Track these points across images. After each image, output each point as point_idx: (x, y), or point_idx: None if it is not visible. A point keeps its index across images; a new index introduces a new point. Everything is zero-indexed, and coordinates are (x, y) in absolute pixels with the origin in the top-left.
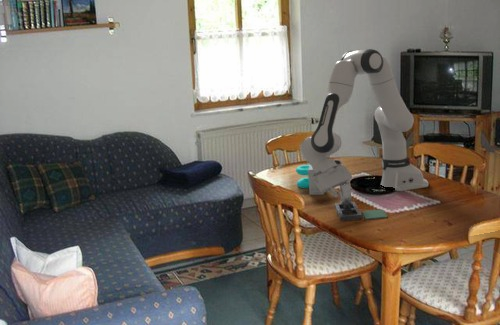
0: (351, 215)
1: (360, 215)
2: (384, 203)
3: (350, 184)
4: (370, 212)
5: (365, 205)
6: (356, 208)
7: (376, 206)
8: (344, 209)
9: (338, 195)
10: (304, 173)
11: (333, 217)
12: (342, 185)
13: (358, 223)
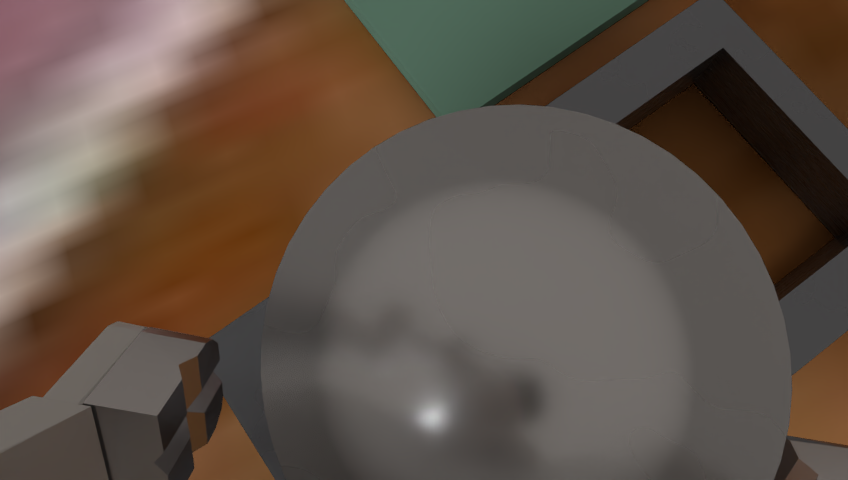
0: (817, 105)
1: (723, 7)
2: (14, 9)
3: (408, 133)
4: (455, 1)
5: (157, 209)
6: None
7: (157, 56)
8: None
9: (834, 445)
10: None
11: (825, 435)
12: (687, 423)
13: (837, 9)
